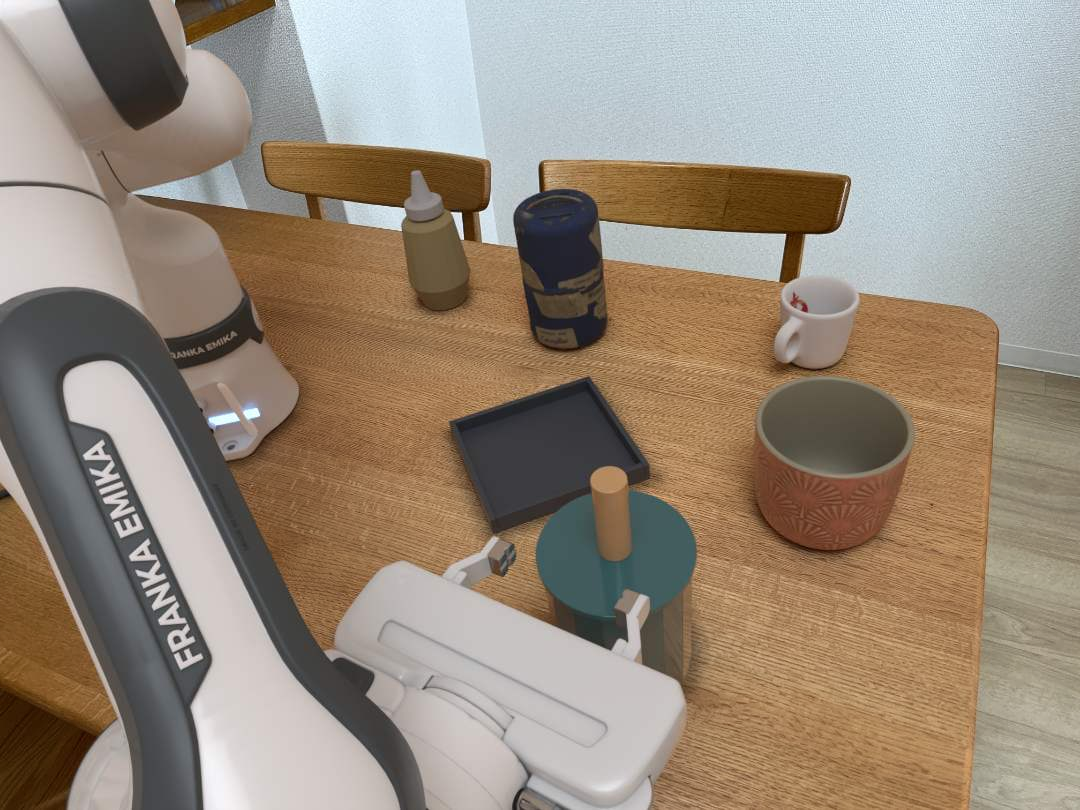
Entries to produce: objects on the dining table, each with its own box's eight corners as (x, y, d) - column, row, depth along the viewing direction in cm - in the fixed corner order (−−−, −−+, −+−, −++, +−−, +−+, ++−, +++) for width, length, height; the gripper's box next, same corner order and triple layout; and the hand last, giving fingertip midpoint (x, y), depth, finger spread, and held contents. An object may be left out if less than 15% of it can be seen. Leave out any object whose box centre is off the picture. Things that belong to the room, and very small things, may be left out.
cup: (806, 400, 84) (813, 339, 79) (744, 369, 89) (747, 310, 84) (864, 351, 89) (875, 291, 84) (803, 325, 94) (809, 266, 89)
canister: (602, 356, 94) (590, 217, 82) (523, 354, 96) (501, 218, 85) (613, 309, 101) (603, 175, 89) (539, 308, 103) (520, 177, 92)
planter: (904, 570, 67) (929, 480, 60) (751, 562, 70) (758, 474, 63) (881, 464, 77) (901, 375, 69) (746, 460, 79) (752, 374, 72)
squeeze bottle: (442, 277, 112) (413, 153, 100) (487, 291, 108) (463, 163, 96) (403, 307, 107) (368, 181, 96) (448, 322, 103) (417, 193, 92)
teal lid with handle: (571, 652, 52) (558, 573, 47) (516, 530, 60) (500, 451, 55) (726, 591, 54) (731, 509, 49) (653, 481, 62) (649, 401, 57)
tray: (493, 534, 76) (489, 520, 75) (452, 434, 87) (448, 421, 86) (650, 478, 79) (649, 464, 77) (590, 389, 90) (589, 375, 89)
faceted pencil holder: (589, 734, 60) (574, 639, 52) (542, 624, 68) (522, 526, 60) (714, 683, 62) (718, 583, 54) (655, 581, 70) (650, 481, 61)
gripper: (619, 844, 35) (732, 601, 44) (283, 657, 44) (430, 487, 53) (626, 894, 39) (728, 664, 48) (317, 714, 48) (449, 548, 57)
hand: (569, 570), depth 50 cm, fingers open, 8 cm apart
